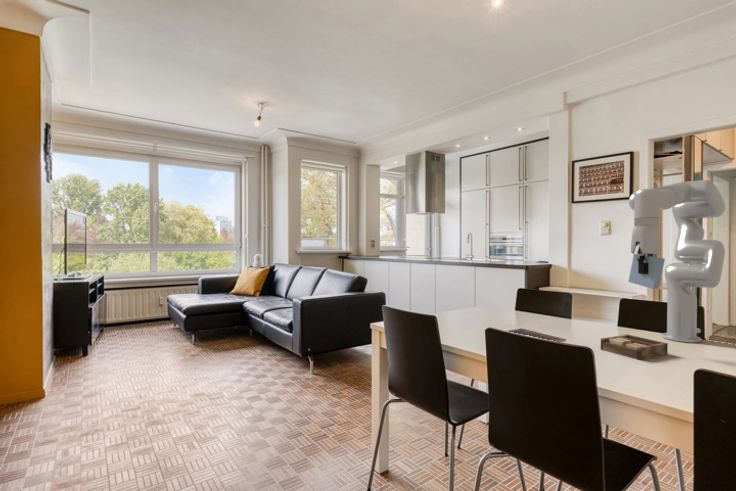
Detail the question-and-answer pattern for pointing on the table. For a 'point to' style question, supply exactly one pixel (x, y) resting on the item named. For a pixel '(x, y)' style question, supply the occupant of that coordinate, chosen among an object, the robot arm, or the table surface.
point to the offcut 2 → (634, 345)
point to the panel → (653, 274)
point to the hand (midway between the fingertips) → (646, 273)
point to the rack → (641, 353)
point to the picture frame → (537, 334)
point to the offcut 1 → (620, 341)
